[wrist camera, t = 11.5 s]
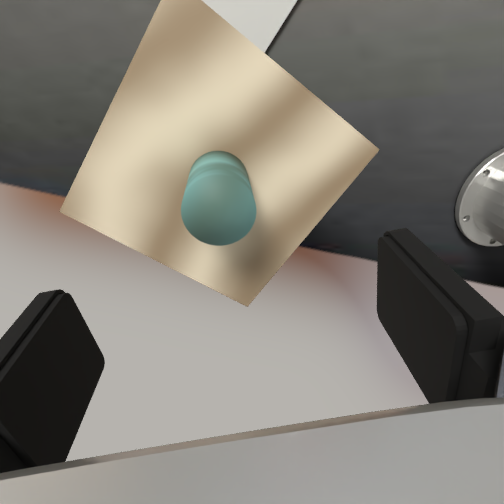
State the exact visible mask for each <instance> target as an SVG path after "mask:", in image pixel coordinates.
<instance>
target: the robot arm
mask: <svg viewBox="0 0 504 504" xmlns="http://www.w3.org/2000/svg"><path fill="white" fill-rule="evenodd" d="M455 218H456V223H457V226H458V228H459V229H460V231H461V232H462V233H463V235H464V236H465V237H467V238H468V239H470V240H471V241H472V242H475V243H477V244H479V245H483V246H502V245H504V148H503V149H501V150H499V151H497V152H495V153H494V154H492V155H491V156H489V157H488V158H487V159H485V160H484V161H483V162H482V163H481V164H480V165H479V166H477V167H476V168H475V169H474V171H473V172H472V173H471V174H470V176H469V177H468V178H467V179H466V181H465V183H464V185H463V186H462V188H461V190H460V193H459V195H458V198H457V202H456V206H455ZM377 275H378V276H377V313H378V317H379V320H380V322H381V323H382V325H383V327H384V328H385V330H386V332H387V333H388V335H389V337H390V338H391V340H392V342H393V343H394V345H395V347H396V348H397V350H398V352H399V353H400V355H401V357H402V358H403V360H404V362H405V364H406V365H407V367H408V368H409V370H410V372H411V374H412V375H413V377H414V379H415V380H416V382H417V383H418V385H419V387H420V389H421V390H422V392H423V393H424V395H425V397H426V399H427V400H428V402H429V404H426V405H418V406H411V407H404V408H397V409H389V410H383V411H375V412H369V413H362V414H356V415H350V416H344V417H337V418H331V419H324V420H318V421H312V422H305V423H299V424H292V425H286V426H280V427H273V428H267V429H261V430H254V431H249V432H242V433H236V434H230V435H224V436H218V437H211V438H205V439H199V440H193V441H187V442H181V443H175V444H169V445H163V446H157V447H150V448H144V449H138V450H132V451H127V452H120V453H115V454H108V455H103V456H97V457H91V458H85V459H79V460H73V461H67V462H65V461H66V458H67V456H68V453H69V451H70V449H71V446H72V444H73V441H74V439H75V437H76V434H77V432H78V429H79V427H80V424H81V422H82V420H83V417H84V415H85V412H86V410H87V408H88V405H89V402H90V400H91V398H92V395H93V393H94V390H95V388H96V386H97V383H98V381H99V378H100V376H101V373H102V371H103V369H104V364H105V362H104V357H103V354H102V352H101V351H100V349H99V347H98V345H97V343H96V341H95V339H94V337H93V336H92V334H91V332H90V330H89V328H88V326H87V324H86V322H85V320H84V319H83V317H82V315H81V313H80V311H79V309H78V307H77V306H76V303H75V302H74V300H73V298H72V296H71V295H70V294H69V293H65V292H64V291H63V290H54V291H48V292H43V293H39V294H38V295H37V296H36V297H35V298H34V300H33V301H32V302H31V303H30V304H29V306H28V307H27V308H26V309H25V310H24V312H23V313H22V314H21V315H20V316H19V318H18V319H17V320H16V321H15V322H14V324H13V325H12V326H11V327H10V328H9V329H8V331H7V332H6V333H5V334H4V336H3V337H2V338H1V339H0V504H504V316H503V315H502V314H501V313H500V312H499V311H497V310H496V309H495V308H494V307H493V306H492V305H491V304H490V303H489V302H488V301H487V300H485V299H484V298H483V297H482V296H481V295H480V294H479V293H478V292H477V291H475V290H474V289H473V288H472V287H471V286H470V285H469V284H468V283H467V282H466V281H464V280H463V279H462V278H461V277H460V276H459V275H458V274H457V273H456V272H455V271H453V270H452V269H451V268H450V267H449V266H448V265H447V264H446V263H445V262H443V261H442V260H441V259H440V258H439V257H438V256H437V255H436V254H435V253H433V252H432V251H431V250H430V249H429V248H428V247H427V246H426V245H425V244H424V243H422V242H421V241H420V240H419V239H418V238H417V237H416V236H415V235H414V234H413V233H411V232H410V231H409V230H408V229H406V228H403V229H397V230H392V231H386V232H385V233H384V237H380V238H379V240H378V272H377Z"/></svg>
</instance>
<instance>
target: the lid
mask: <svg viewBox="0 0 504 504" xmlns="http://www.w3.org/2000/svg"><path fill="white" fill-rule="evenodd" d="M378 151H379V149H378V148H377V147H376V146H375V145H373V144H372V143H371V142H370V141H369V140H367V139H366V138H365V137H364V136H363V135H361V134H360V133H359V132H358V131H357V130H356V129H354V128H353V127H352V126H351V125H350V124H348V123H347V122H346V121H345V120H344V119H342V118H341V117H340V116H339V115H338V114H336V113H335V112H334V111H333V110H332V109H330V108H329V107H328V106H327V105H326V104H325V103H323V102H322V101H321V100H320V99H319V98H317V97H316V96H315V95H314V94H313V93H311V92H310V91H309V90H308V89H307V88H305V87H304V86H303V85H302V84H301V83H300V82H298V81H297V80H296V79H295V78H294V77H292V76H291V75H290V74H289V73H288V72H286V71H285V70H284V69H283V68H282V67H280V66H279V65H278V64H277V63H276V62H274V61H273V60H272V59H271V58H270V57H269V56H267V55H266V54H265V53H264V52H263V51H261V50H260V49H259V48H258V47H257V46H255V45H254V44H253V43H252V42H251V41H249V40H248V39H247V38H246V37H245V36H244V35H242V34H241V33H240V32H239V31H238V30H236V29H235V28H234V27H233V26H232V25H230V24H229V23H228V22H227V21H226V20H224V19H223V18H222V17H221V16H220V15H218V14H217V13H216V12H215V11H214V10H213V9H211V8H210V7H209V6H208V5H207V4H205V3H204V2H203V1H202V0H161V1H160V3H159V5H158V7H157V10H156V12H155V14H154V16H153V18H152V20H151V22H150V24H149V26H148V28H147V30H146V32H145V35H144V37H143V39H142V41H141V43H140V45H139V47H138V49H137V51H136V53H135V55H134V57H133V60H132V62H131V64H130V66H129V68H128V70H127V72H126V74H125V76H124V78H123V80H122V82H121V85H120V87H119V89H118V91H117V93H116V95H115V97H114V99H113V101H112V103H111V105H110V108H109V110H108V112H107V114H106V116H105V118H104V120H103V122H102V124H101V126H100V128H99V130H98V133H97V135H96V137H95V139H94V141H93V143H92V145H91V147H90V149H89V151H88V153H87V155H86V158H85V160H84V162H83V164H82V166H81V168H80V170H79V172H78V174H77V176H76V178H75V180H74V183H73V185H72V187H71V189H70V191H69V193H68V195H67V197H66V199H65V202H64V204H63V206H62V208H61V210H60V212H61V213H63V214H65V215H67V216H69V217H71V218H73V219H75V220H77V221H79V222H81V223H83V224H85V225H87V226H89V227H91V228H93V229H95V230H97V231H99V232H100V233H103V234H104V235H106V236H108V237H110V238H113V239H114V240H116V241H118V242H120V243H122V244H125V245H126V246H128V247H130V248H132V249H134V250H136V251H138V252H140V253H142V254H144V255H146V256H148V257H150V258H152V259H154V260H156V261H158V262H160V263H162V264H164V265H166V266H168V267H170V268H172V269H174V270H176V271H178V272H180V273H182V274H184V275H186V276H188V277H190V278H191V279H194V280H195V281H197V282H200V283H201V284H203V285H206V286H207V287H209V288H211V289H213V290H215V291H217V292H219V293H221V294H223V295H226V296H227V297H229V298H231V299H233V300H235V301H237V302H239V303H241V304H243V305H245V306H248V305H249V304H250V303H251V302H252V301H253V299H254V298H255V297H256V296H257V295H258V293H259V292H260V291H261V290H262V289H263V287H264V286H265V285H266V284H267V283H268V282H269V280H270V279H271V278H272V277H273V276H274V274H275V273H276V272H277V271H278V270H279V269H280V267H281V266H282V265H283V264H284V263H285V261H286V260H287V259H288V258H289V257H290V255H291V254H292V253H293V252H294V251H295V250H296V248H297V247H298V246H299V245H300V244H301V242H302V241H303V240H304V239H305V238H306V236H307V235H308V234H309V233H310V232H311V231H312V229H313V228H314V227H315V226H316V225H317V223H318V222H319V221H320V220H321V219H322V217H323V216H324V215H325V214H326V213H327V211H328V210H329V209H330V208H331V207H332V206H333V204H334V203H335V202H336V201H337V200H338V198H339V197H340V196H341V195H342V194H343V192H344V191H345V190H346V189H347V188H348V186H349V185H350V184H351V183H352V182H353V181H354V179H355V178H356V177H357V176H358V175H359V173H360V172H361V171H362V170H363V169H364V167H365V166H366V165H367V164H368V163H369V161H370V160H371V159H372V158H373V157H374V156H375V154H376V153H377V152H378Z"/></svg>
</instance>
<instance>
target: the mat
mask: <svg viewBox="0 0 504 504" xmlns="http://www.w3.org/2000/svg"><path fill="white" fill-rule="evenodd" d="M202 1H203V2H204V3H205V4H207V5H208V6H209V7H210V8H211V9H213V10H214V11H215V12H216V13H217V14H218V15H220V16H221V17H222V18H223V19H224V20H226V21H227V22H228V23H229V24H230V25H232V26H233V27H234V28H235V29H236V30H238V31H239V32H240V33H241V34H242V35H244V36H245V37H246V38H247V39H248V40H249V41H251V42H252V43H253V44H254V45H255V46H257V47H258V48H259V49H260V50H261V51H263V52H264V53H265V51H266V49H267V48H268V46H269V45H270V43H271V42H272V40H273V38H274V37H275V35H276V34H277V32H278V30H279V29H280V27H281V26H282V24H283V22H284V21H285V19H286V18H287V16H288V14H289V13H290V11H291V10H292V8H293V6H294V5H295V3H296V2H297V0H202Z"/></svg>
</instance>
